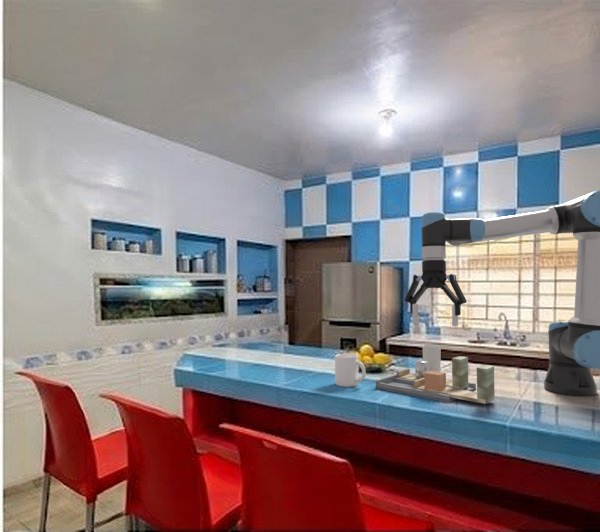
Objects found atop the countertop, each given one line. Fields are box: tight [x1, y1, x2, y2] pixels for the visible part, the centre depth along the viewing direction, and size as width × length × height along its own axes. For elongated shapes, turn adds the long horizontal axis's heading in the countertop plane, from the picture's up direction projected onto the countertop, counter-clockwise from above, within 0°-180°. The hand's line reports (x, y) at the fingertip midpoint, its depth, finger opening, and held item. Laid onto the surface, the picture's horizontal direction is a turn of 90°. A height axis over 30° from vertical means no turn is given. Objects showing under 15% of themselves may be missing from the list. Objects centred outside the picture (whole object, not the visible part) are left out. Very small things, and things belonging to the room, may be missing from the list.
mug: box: [334, 353, 367, 388], centre depth 153 cm, size 12×8×10 cm
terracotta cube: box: [424, 371, 447, 391], centre depth 139 cm, size 5×5×5 cm
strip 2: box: [413, 364, 496, 405], centre depth 136 cm, size 24×8×10 cm, turn 47°
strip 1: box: [396, 355, 469, 389], centre depth 151 cm, size 24×8×10 cm, turn 47°
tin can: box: [414, 360, 428, 379], centre depth 154 cm, size 4×4×6 cm
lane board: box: [375, 372, 477, 403], centre depth 147 cm, size 26×22×3 cm
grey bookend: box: [422, 344, 442, 372], centre depth 168 cm, size 10×7×12 cm, turn 140°
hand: (434, 324), depth 140 cm, fingers open, 13 cm apart
